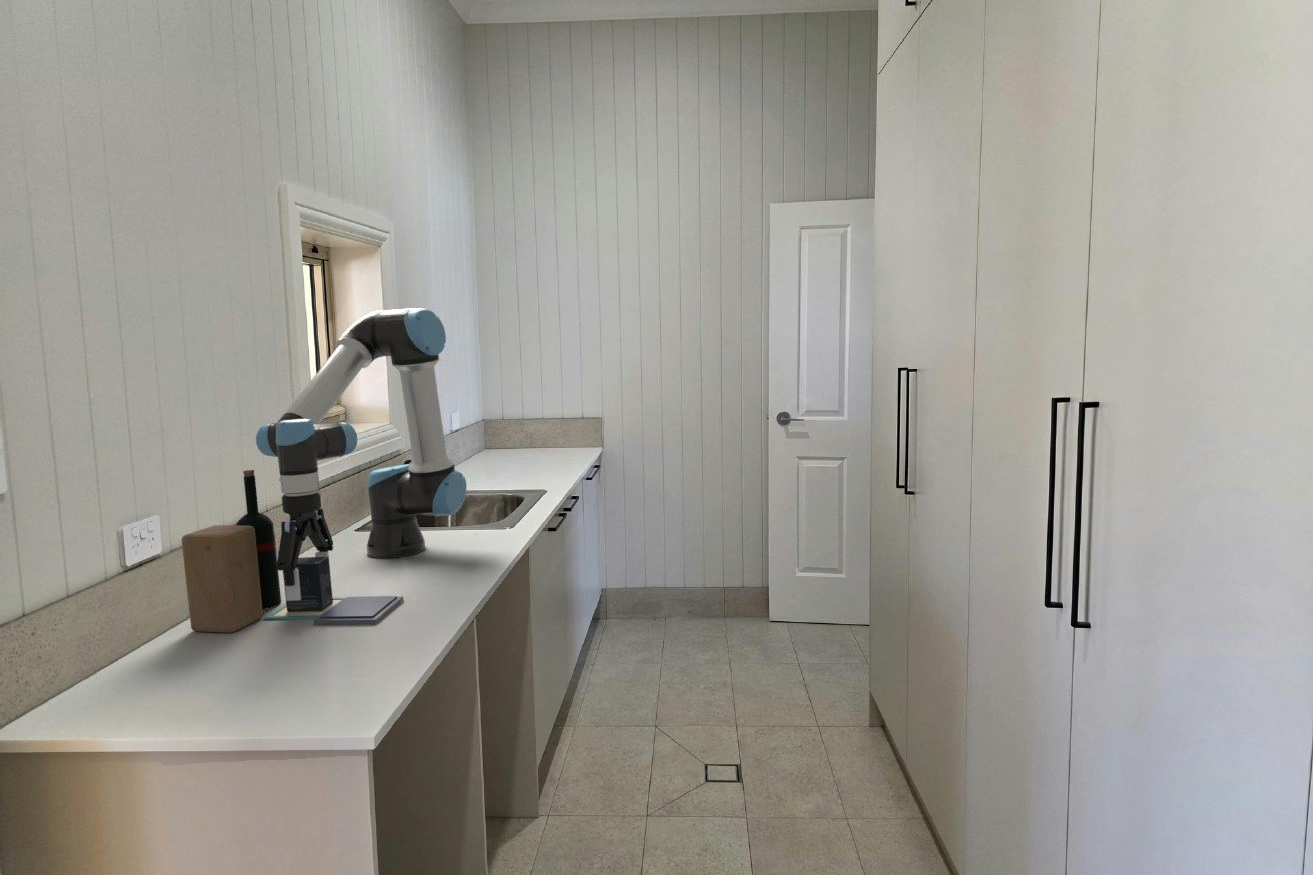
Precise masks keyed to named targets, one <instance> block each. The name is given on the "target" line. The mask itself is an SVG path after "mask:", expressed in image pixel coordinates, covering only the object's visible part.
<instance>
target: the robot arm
mask: <svg viewBox="0 0 1313 875" xmlns="http://www.w3.org/2000/svg"><path fill="white" fill-rule="evenodd" d="M445 330H446V329H445V327H444V323H442V320H441V319H440V317H439V316H438V315H437V314H436V313H435V312H434V311H432V310H430V309H427V308H416V307H412V308H402V309H401V308H400V309H389V310H388V309H386V310H385V309H383V310H382V309H381V310H380V309H379V310H376V311H371V312H370V313H368V314H366V315H365V316H363V317H361V318H359V319H358V320H357V321H356V322H354V323H353V324H351V326H350V327H349V328H347V329H346V331H344V332H343V334H342V335H341V336H339V338H338V340H336V342H335V350H334V351H333V352H332V354H331V355H330V356H329V357H328V359H327V360H326V362H324V364H323V365H322V366H321V368H319V370H318V371H317V372H316V374H315V375H313V377H312V379H310V381H309V382H308V383H307V385H306V386H305V387H304V388H303V390H302V391H301V392H300V393H299V394H298V396H297V397H296V398H295V400H294V401H293V402H291V405H290V406H289V407H288V408H287V410H286V411H285V412H284V413H283V415H282V416H280V417H279V420H277V422H276V423H274V422H271V423H266V424H264V425H262V426H261V427H260V428H259V429H258V430H257V433H256V437H255V442H256V446H257V449H258V450H259V452H260V453H262V454H263V455H264V456H267V457H273V458H277V460H278V469H279V470H278V471H279V480H278V481H279V482H280V489H281V490H280V492H281V493H282V496H281V503H282V504H281V506H282V511H283V513H285V514H288V515H289V521H287V520H285V521H281V525H280V526H281V527H280V528H281V529H280V530H281V535H280V541H279V548H278V555H277V570H278V572H279V571H282V572H283V571H284V577H283V579H284V578H285V586H284V589H285V588H286V596H285V600H286V599H287V601H292V600H301V593H300V583H299V572H298V569H295V568H296V564H297V561H298V558H300V553H301V550H302V549H301V548H302V546H303V542H304V541H306V540H307V537H308V538H309V540H310V542H311V543H312V545H314V546H313V547H314V548H315V549H316V552H314V555H315V556H314V557H329V558H330V553H329V552H330V551H334V550H333V549H334V546H333V545H334V540H333V538H332V535H331V532H330V530H329V527H328V524H327V520H326V519H325V513H324V508H321V507H322V503H321V502H322V501H321V500H322V499H321V493H320V492H319V491H318V490H320V478H319V469H318V468H319V467H318V461H323V460H327V459H333V458H342V457H343V456H346V455H348V454H351V453H352V452H354V451H355V450H356V447H357V445H358V434H357V431H356V429H355V428H354V427H353V426H352V425H351V424H350V423H347V422H345V421H344V422H343V421H340V422H338V421H337V422H335V421H334V422H333V421H332V422H331V423H321V422H322V421H323V420H324V419H325V417H326V415H328V414H329V411H331V409H332V408H333V407H334V405H335V404H336V402H337V401H338V400H339V399H340V398H341V396H342V394H344V392H345V391H346V389H348V387H349V386H350V385H351V384H352V382H353V381H354V380H355V378H356V376H357V375H358V374H359V373H360V372H361V370H362V369H365V368H368V367H370V365H371V364H372V363H373V362H374V361H375V360H377V359H378V358H382V357H390V359H391V365H392V367H394V368H395V369H397V370H398V371H399V377H400V382H401V389H402V390H401V391H402V397H403V403H404V409H405V410H404V411H405V415H406V422H407V423H406V424H407V429H408V434H409V435H408V436H409V442H410V449H411V455H412V463H411V464H410V463H409V464H401V465H394V466H393V465H392V466H388V467H384V468H378V469H375V470H372V471H371V472H369V474H368V476H367V478H368V481H367V482H368V486H367V489H368V496H369V507H370V508H369V510H370V518H371V528H370V532H369V536H368V538H367V544H366V555H367V556H368V557H371V558H377V559H381V558H382V559H389V558H390V559H391V558H401V557H407V556H411V555H415V554H418V553H420V552H423V551H424V550H426V542H425V538H424V535H423V533H422V530H421V528H420V526H419V524H418V521H417V515H419V516H435V517H441V516H447V517H448V516H452V515H454V514H456V513H457V512H458V511H459V510H460V509H461V508H462V506H463V503H464V501H465V499H466V496H467V481H466V477H465V476H464V474H463V473H462V472H460V471H458V470H456V469H455V463H454V460H452V459H450V458H449V457H448V456H447V448H446V447H447V446H446V441H445V433H444V426H443V421H442V413H441V406H440V401H439V392H438V386H437V379H436V377H437V376H436V370H435V366H436V365H437V363H438V362H439V361H440V354H441V353H442V352H443V351H444V349H445V347H446V345H445V344H446V342H447V337H446V335H447V334H446V331H445ZM330 565H331V564H330V563H329V566H330ZM330 567H331V566H330ZM330 577H331V574H330ZM331 578H332V577H331Z"/></svg>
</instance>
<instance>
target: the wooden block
mask: <svg viewBox="0 0 1313 875" xmlns="http://www.w3.org/2000/svg"><path fill="white" fill-rule="evenodd" d="M181 548H182V557H183V564H184V574H185V582H186V584H185V585H186V592H187V593H186V594H187V602H188V612H189V620H190V629H192V630H191V631H193V632H203V633H204V632H205V633H209V632H210V633H231V634H233V633H235V632H237V631H239V630H240V629H242V628H245V627H246V626H248V625H250V624H252V623H254V622H256V621H258V620H260V619H262V618H263V615H264V612H263V611H264V610H263V609H262V599H261V589H260V579H259V568H258V558H257V548H256V538H255V529H254V527H252V526H242V525H236V524H235V525H232V524H231V525H227V524H226V525H224V524H222V525H221V524H220V525H218V524H215V525H212V526H208V527H205V528H203V529H199V530H196V531H193V532H190V533H186V534H184V535H183V536H182V538H181Z"/></svg>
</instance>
